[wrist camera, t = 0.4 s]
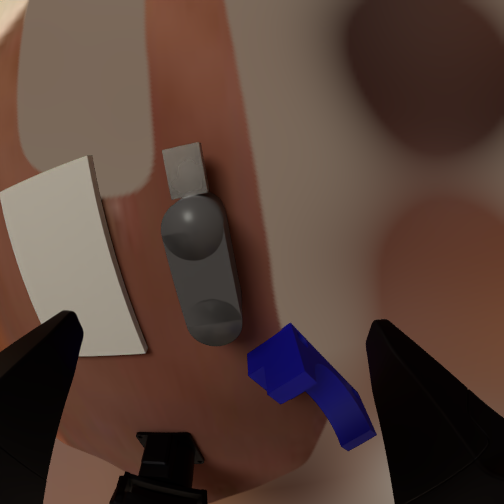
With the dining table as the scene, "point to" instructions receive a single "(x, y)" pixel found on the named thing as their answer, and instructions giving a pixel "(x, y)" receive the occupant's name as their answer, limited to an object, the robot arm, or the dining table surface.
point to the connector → (200, 250)
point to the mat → (71, 256)
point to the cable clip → (310, 383)
